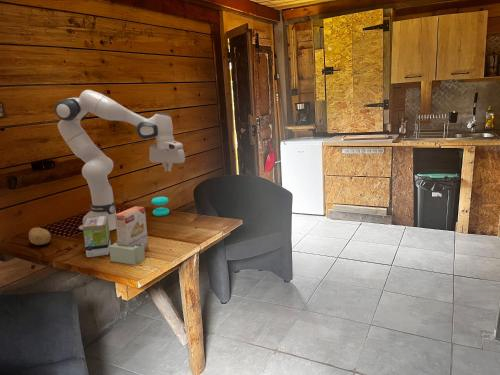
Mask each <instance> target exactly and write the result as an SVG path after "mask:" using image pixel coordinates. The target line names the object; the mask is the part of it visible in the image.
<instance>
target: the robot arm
mask: <svg viewBox="0 0 500 375" xmlns="http://www.w3.org/2000/svg"><path fill="white" fill-rule="evenodd" d="M54 113H55V115H56V117H58V119H60V121H59V122H58V123H57V128H58V131H59V133H60V135H61V137H62V139H63V141H65V144H66V145H67V146H68V147H69V148H70V151H71V152H73V154H74V155H75V156H76V157H78V158H79V159H81V160H82V162H84V163H85V164H84V165H83V166H82V168H81V174H82V176H83V178H84V179H85V180H86V182H87V185H88V188H89V191H90V192H89V193H90V196H91V197H90V198H91V204H89V205H88V206H89V208H90V211H88V212H87V213H86V215H84V216H83V218H82V224H81V225H80V226H78V230H82V231H83V226H84V223H85V221H86V218H92V217H101V216H107V217H108V224H109V232H110V231H113V230H117V229H116V220H115V215H116V214H117V211H116V203H115V201H114V200H115V199H114V192H113V187H112V186H111V184H110V183H109V182H110V181H109V179H108V175H109V174H111V172H112V171H113V169H114V161H113V159H111V158H110V157H108V156H107V155H106V154H105V153H104V152H103V151H102V150H101V149H100V148H99V147H98V146H97V145H96V144H95V142H93V140H92V138H90V136H89V135H88V133H87V131H85V129H84V128H83V127H82V124H81V122H83V121H84V120H85V118H87V116H88V115H89V114H93V115H94V116H97V117H98V118H101V119H103V120H106V121H119V122H124V123H128V124H130V125H132V126H134V127H136V128H135V129H136V130H135V131H136V134H137V136H138V137H139V138H140V139H143V140H151V139H156V144H151V145H150V146H149V161H150V163H159V164H161V163H162V164H161V165H162V166H163V168H164V172H172V167H173V164H183V163H185V161H186V154H185V151H184V149H183V147H184V146H183V145H184V144H183V143H182V142H180V141H179V142H178V141H176V140H175V138H174V135H173V132H174V127H173V126H174V125H173V121H172V117H171V115H170V114H168V113H163V112H156V113H155V114H154V115H153V116H151V117H149V118H148V117H145V116H142V115H140V114H138V113H137V112H134V111H132V110H130V109H128V108H126V107H124V106H123V105H121V104H120V103H118V102H117V101H116V100H113V99H112V98H110V97H108V96H107V95H104V94H103V93H100V92H97V91H94V90H92V89H86V90H83V91H82V92H81V93H80V95H79V96H77V97H69V98H64V99H61V100H59V101H58V102H56V104H55V106H54Z"/></svg>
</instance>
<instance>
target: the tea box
mask: <svg viewBox="0 0 500 375" xmlns="http://www.w3.org/2000/svg"><path fill="white" fill-rule="evenodd" d="M82 232H83V238H84V248H85V256H86V258H93V257H101V256H107V255H110V249H109V246H110V245H112V244H111V235H110V231H109V224H108V217H107V216H101V217H92V218H86V221H85V223H84V226H83V230H82Z"/></svg>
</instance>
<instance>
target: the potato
mask: <svg viewBox="0 0 500 375" xmlns="http://www.w3.org/2000/svg"><path fill="white" fill-rule="evenodd" d="M51 238H52V234H51V233H50V231H49V230H47V229H45V228H41V227H33V228H31V229H30V230H29V231H28V240H29V241H30V243H31V244H33V245H36V246H42V245H43V246H44V244H45V245H47V244H48V243H50V242H51V241H50V240H51Z"/></svg>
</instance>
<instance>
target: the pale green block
mask: <svg viewBox="0 0 500 375" xmlns="http://www.w3.org/2000/svg"><path fill="white" fill-rule="evenodd" d="M109 249H110V250H109V255H110V262H114V263H121V264H126V265H132V266H136V265H138V264H139V263H141V262H143V261H144V260H145V259H146V254H145V252H146V251H145V252H144V244H142V243H141V242H138V243H136V246H134V247H126V246H119V245H118V239H117V240H115V243H113V244H110V246H109Z"/></svg>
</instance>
